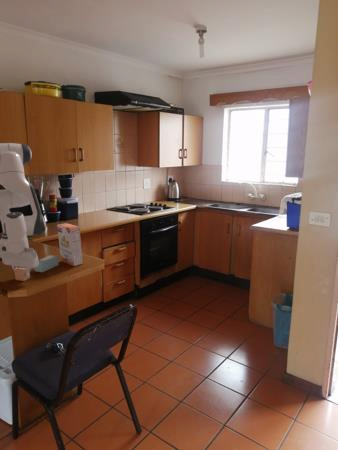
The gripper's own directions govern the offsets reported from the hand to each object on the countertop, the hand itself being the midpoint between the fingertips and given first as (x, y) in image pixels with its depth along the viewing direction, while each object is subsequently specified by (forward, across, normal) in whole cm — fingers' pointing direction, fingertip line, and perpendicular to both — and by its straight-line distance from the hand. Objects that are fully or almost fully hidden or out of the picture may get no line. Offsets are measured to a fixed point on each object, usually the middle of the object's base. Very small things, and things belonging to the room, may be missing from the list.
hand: (22, 274), depth 167 cm
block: (+2, 0, 0) cm, 2 cm away
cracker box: (+2, -7, -27) cm, 28 cm away
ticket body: (+2, 0, -16) cm, 16 cm away
